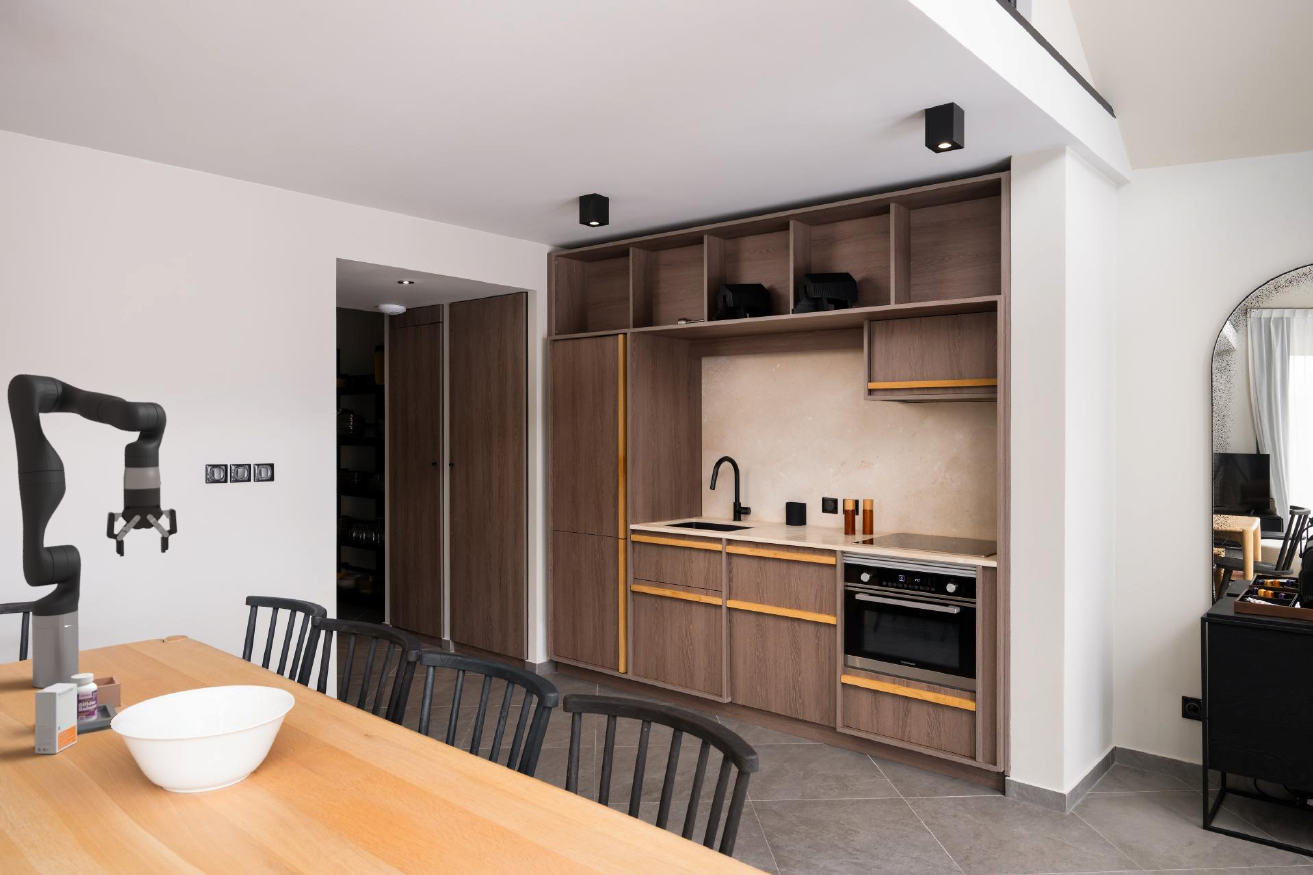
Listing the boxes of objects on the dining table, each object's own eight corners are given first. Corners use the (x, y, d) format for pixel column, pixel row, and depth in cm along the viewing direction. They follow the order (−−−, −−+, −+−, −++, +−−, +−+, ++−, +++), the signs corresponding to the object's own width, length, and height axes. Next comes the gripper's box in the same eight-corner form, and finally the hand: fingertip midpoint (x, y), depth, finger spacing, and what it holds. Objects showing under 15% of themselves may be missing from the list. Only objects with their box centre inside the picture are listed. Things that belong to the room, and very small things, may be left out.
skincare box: (56, 754, 164) (55, 692, 164) (34, 754, 164) (33, 692, 164) (78, 742, 170) (77, 682, 170) (57, 742, 170) (56, 682, 170)
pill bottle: (82, 726, 177) (81, 680, 176) (60, 724, 178) (59, 678, 177) (103, 717, 182) (103, 672, 182) (82, 715, 183) (81, 670, 183)
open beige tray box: (73, 703, 193) (73, 681, 193) (115, 696, 198) (115, 675, 198) (77, 713, 187) (76, 690, 186) (120, 705, 192) (120, 683, 191)
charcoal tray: (44, 723, 180) (44, 713, 180) (111, 711, 188) (111, 702, 188) (48, 740, 171) (48, 730, 171) (118, 726, 179) (118, 717, 179)
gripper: (173, 483, 210) (173, 549, 211) (104, 486, 201) (105, 555, 202) (178, 485, 204) (179, 553, 205) (108, 488, 195) (109, 559, 196)
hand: (142, 554), depth 203 cm, fingers open, 8 cm apart
